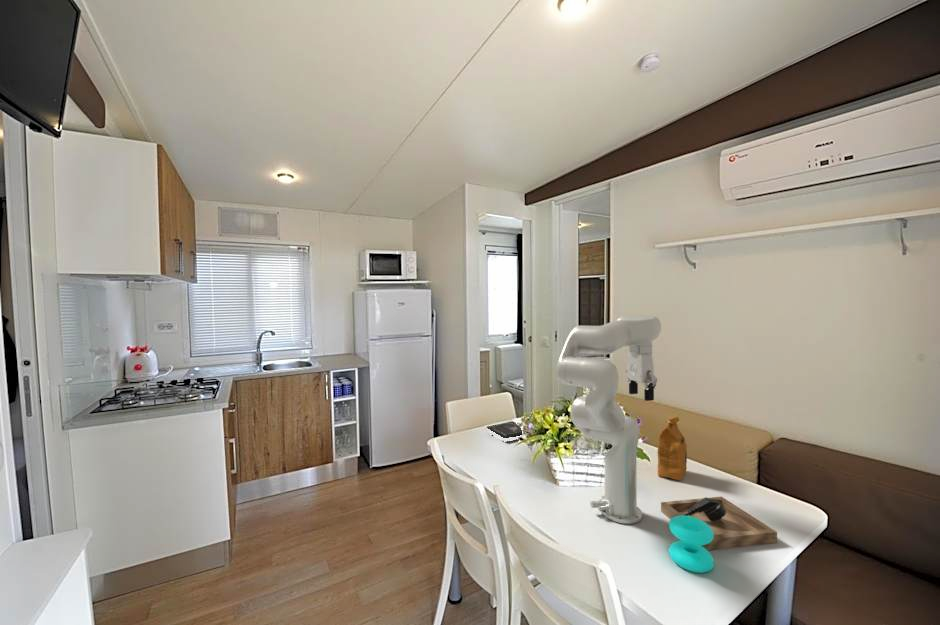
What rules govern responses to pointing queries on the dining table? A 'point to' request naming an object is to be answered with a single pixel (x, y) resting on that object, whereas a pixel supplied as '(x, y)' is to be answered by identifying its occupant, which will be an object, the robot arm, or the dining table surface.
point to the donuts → (691, 543)
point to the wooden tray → (726, 525)
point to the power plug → (708, 509)
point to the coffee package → (672, 451)
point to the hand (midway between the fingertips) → (641, 396)
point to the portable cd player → (506, 429)
